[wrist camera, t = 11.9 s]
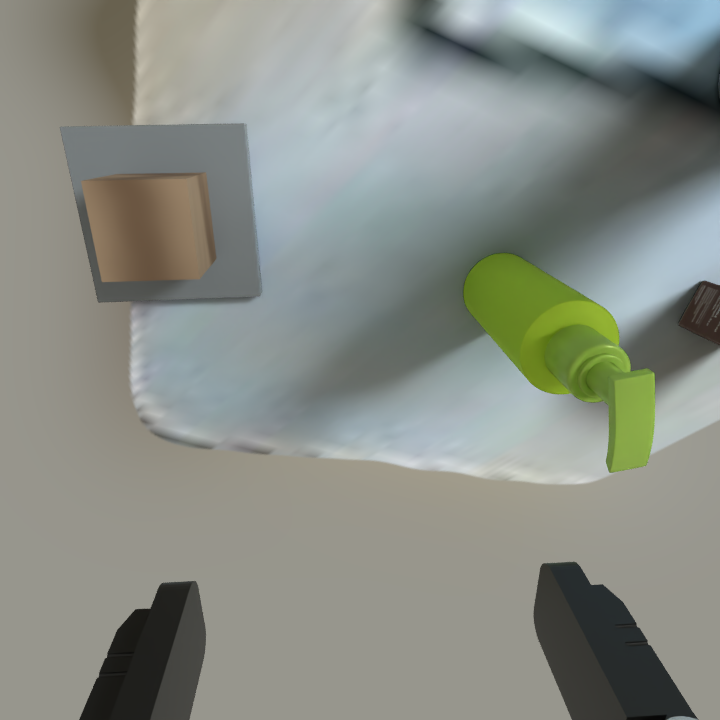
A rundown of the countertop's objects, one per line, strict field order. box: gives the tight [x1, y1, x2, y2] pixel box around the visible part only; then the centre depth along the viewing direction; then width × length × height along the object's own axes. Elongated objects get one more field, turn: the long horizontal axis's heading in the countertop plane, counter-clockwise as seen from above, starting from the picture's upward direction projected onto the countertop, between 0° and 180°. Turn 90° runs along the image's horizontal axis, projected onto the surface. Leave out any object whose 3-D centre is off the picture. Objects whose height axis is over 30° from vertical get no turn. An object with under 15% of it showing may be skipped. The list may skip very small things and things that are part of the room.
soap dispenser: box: [463, 253, 655, 473], centre depth 34 cm, size 6×7×20 cm
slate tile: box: [60, 124, 262, 302], centre depth 38 cm, size 12×12×1 cm
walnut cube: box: [81, 172, 216, 282], centre depth 35 cm, size 6×6×6 cm
